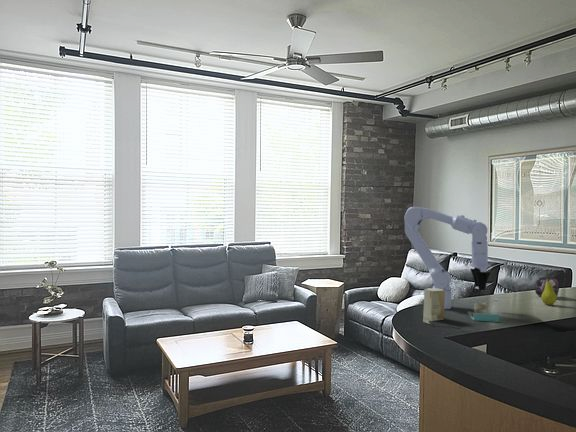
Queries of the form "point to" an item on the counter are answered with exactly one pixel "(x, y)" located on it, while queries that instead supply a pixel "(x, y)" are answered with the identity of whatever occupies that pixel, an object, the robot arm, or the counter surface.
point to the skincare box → (433, 305)
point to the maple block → (480, 308)
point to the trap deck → (484, 317)
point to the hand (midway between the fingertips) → (480, 288)
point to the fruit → (548, 294)
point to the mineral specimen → (542, 282)
